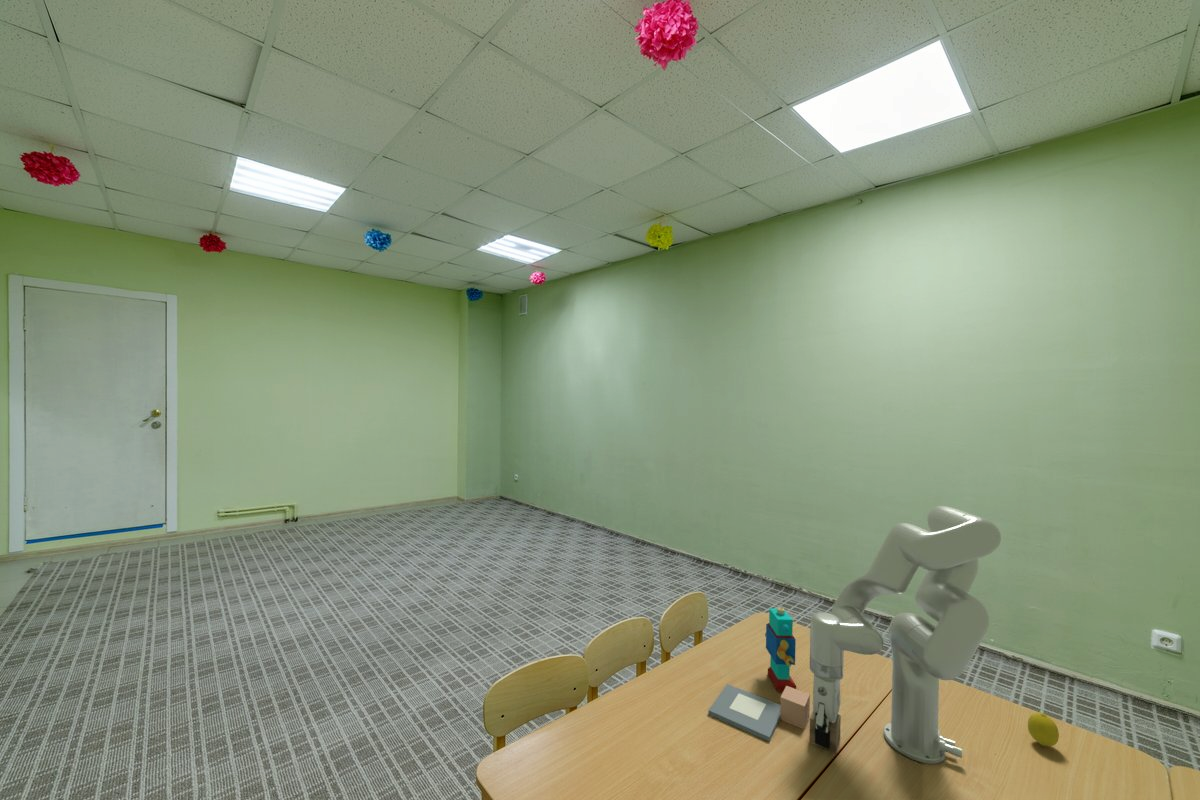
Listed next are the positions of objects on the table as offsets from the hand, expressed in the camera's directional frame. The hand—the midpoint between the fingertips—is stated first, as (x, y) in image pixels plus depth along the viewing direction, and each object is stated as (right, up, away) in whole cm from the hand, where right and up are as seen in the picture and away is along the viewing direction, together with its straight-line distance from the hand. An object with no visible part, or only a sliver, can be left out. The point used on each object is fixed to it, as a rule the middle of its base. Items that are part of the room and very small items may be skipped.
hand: (824, 736), depth 113 cm
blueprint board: (-16, -1, +10) cm, 19 cm away
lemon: (+54, -2, -1) cm, 54 cm away
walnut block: (0, -1, 0) cm, 1 cm away
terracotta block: (-4, -1, +8) cm, 9 cm away
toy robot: (-2, -1, +23) cm, 23 cm away
